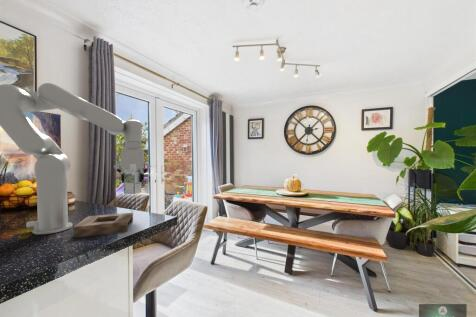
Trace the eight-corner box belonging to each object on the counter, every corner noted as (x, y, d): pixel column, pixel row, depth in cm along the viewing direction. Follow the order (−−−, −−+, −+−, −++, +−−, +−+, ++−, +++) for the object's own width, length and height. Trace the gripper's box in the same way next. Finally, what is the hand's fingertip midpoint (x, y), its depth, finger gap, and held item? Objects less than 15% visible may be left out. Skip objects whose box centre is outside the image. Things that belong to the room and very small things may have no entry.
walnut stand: (73, 237, 80) (73, 227, 80) (88, 225, 94) (88, 216, 94) (126, 231, 85) (126, 221, 85) (133, 221, 99) (132, 212, 99)
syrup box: (141, 192, 106) (141, 163, 106) (134, 194, 100) (135, 163, 100) (130, 191, 106) (131, 163, 106) (123, 193, 101) (123, 163, 101)
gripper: (110, 144, 97) (110, 183, 97) (151, 145, 102) (151, 182, 102) (114, 145, 104) (114, 181, 104) (152, 146, 109) (152, 181, 109)
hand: (132, 182), depth 103 cm, fingers closed on syrup box, 7 cm apart
